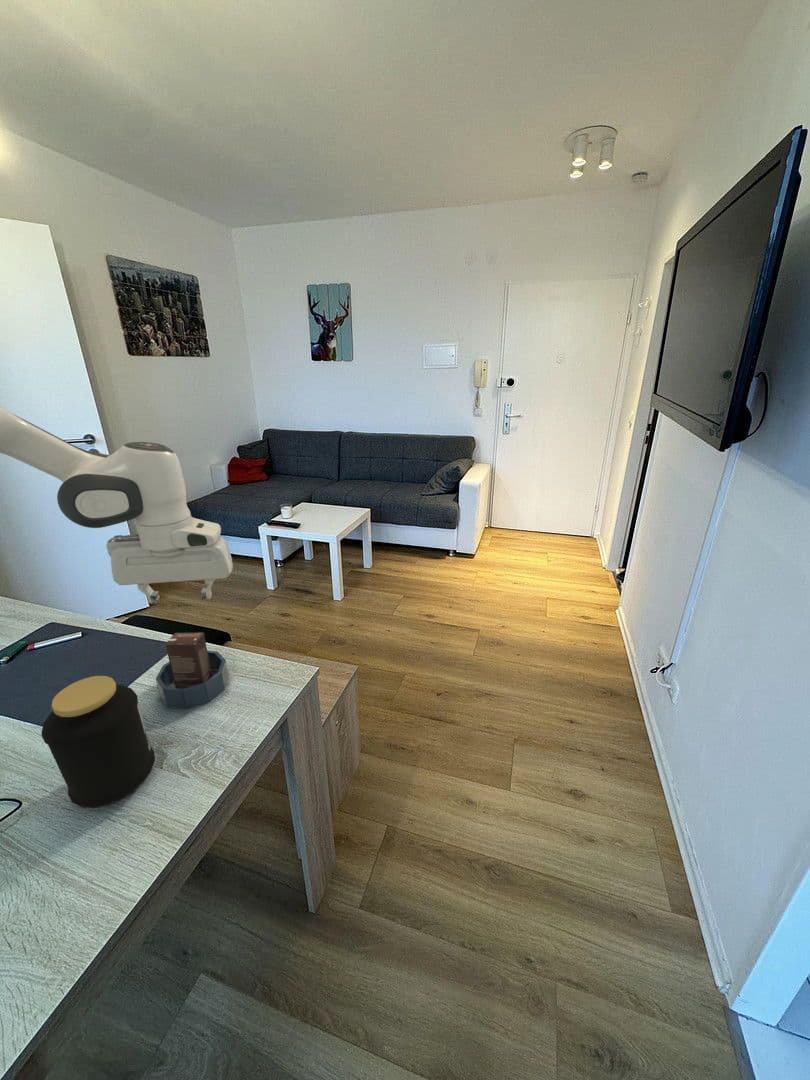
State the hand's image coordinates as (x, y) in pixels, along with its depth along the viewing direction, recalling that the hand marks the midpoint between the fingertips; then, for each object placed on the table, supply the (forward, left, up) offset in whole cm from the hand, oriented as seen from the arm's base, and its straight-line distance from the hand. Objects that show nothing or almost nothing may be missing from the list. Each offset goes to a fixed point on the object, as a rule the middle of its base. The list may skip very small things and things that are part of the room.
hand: (181, 599), depth 83 cm
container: (-7, -22, -20) cm, 31 cm away
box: (0, -1, -20) cm, 20 cm away
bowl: (0, -1, -20) cm, 20 cm away
